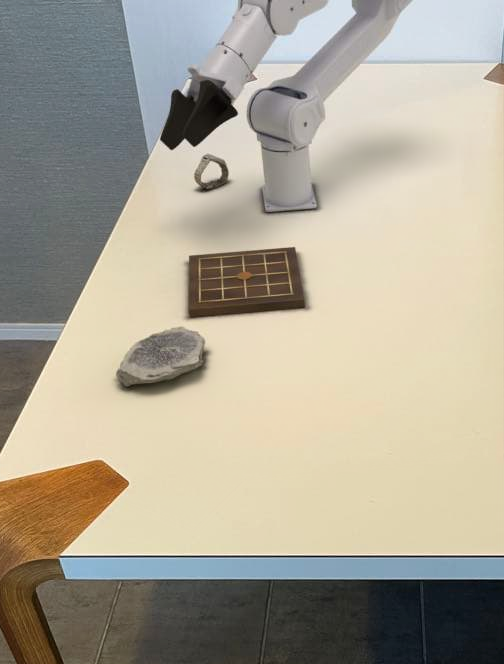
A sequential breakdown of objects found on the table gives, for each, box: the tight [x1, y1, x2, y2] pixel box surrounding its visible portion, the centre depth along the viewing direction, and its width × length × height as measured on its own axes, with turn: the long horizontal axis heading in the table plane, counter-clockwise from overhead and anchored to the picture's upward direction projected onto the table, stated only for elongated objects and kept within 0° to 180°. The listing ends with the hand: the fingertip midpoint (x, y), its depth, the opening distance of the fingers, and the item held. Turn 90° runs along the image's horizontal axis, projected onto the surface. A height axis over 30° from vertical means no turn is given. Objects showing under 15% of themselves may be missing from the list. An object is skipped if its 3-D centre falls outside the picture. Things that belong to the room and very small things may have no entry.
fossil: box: [115, 326, 206, 387], centre depth 101 cm, size 11×4×10 cm
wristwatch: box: [193, 153, 230, 190], centre depth 139 cm, size 4×6×5 cm, turn 139°
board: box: [187, 246, 306, 318], centre depth 116 cm, size 15×15×1 cm
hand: (177, 143), depth 115 cm, fingers open, 7 cm apart
